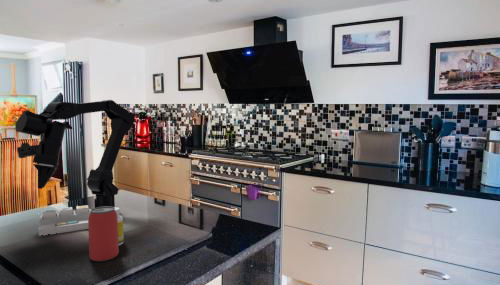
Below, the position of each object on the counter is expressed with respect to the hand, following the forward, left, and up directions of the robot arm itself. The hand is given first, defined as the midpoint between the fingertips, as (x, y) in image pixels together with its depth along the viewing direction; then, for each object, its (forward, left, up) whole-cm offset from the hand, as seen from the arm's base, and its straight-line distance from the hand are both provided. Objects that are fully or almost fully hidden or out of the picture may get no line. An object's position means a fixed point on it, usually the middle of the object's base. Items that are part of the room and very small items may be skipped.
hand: (40, 188), depth 104 cm
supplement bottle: (-17, +27, -13) cm, 34 cm away
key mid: (-7, +2, -9) cm, 11 cm away
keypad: (-7, +2, -13) cm, 14 cm away
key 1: (-2, +2, -9) cm, 10 cm away
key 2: (-11, +2, -9) cm, 15 cm away
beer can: (-14, +35, -13) cm, 40 cm away
